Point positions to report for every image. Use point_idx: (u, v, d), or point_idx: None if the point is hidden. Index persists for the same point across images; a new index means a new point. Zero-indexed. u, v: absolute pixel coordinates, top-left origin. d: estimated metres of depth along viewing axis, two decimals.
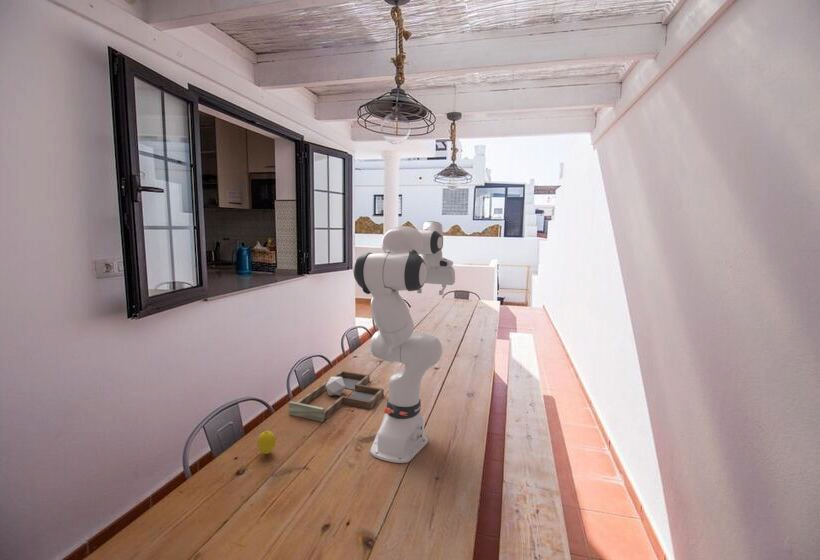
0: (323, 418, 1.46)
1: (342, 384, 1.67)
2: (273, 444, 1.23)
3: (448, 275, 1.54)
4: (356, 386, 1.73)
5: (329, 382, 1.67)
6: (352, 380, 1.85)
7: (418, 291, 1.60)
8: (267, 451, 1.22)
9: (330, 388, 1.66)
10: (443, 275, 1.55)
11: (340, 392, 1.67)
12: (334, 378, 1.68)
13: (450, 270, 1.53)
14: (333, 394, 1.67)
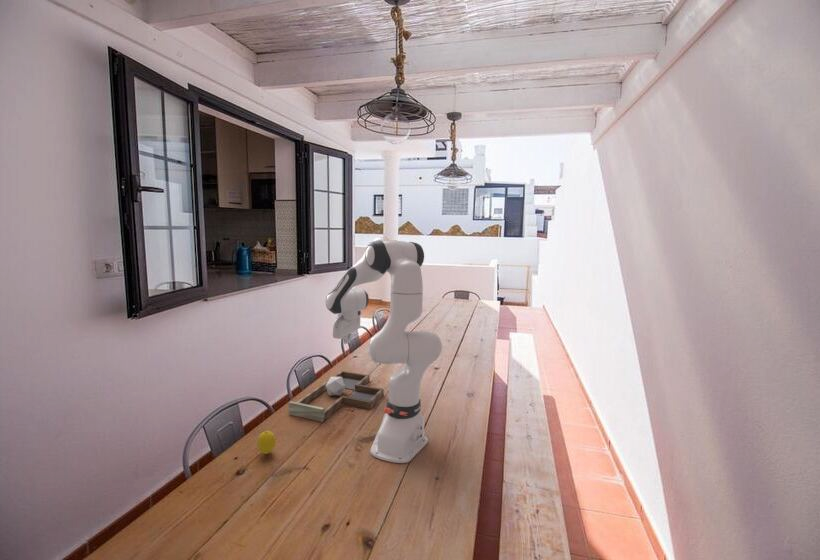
0: (323, 418, 1.46)
1: (342, 384, 1.67)
2: (273, 444, 1.23)
3: (358, 321, 1.82)
4: (356, 386, 1.73)
5: (329, 382, 1.67)
6: (352, 380, 1.85)
7: (347, 342, 1.75)
8: (267, 451, 1.22)
9: (330, 388, 1.66)
10: (355, 323, 1.80)
11: (340, 392, 1.67)
12: (334, 378, 1.68)
13: None
14: (333, 394, 1.67)
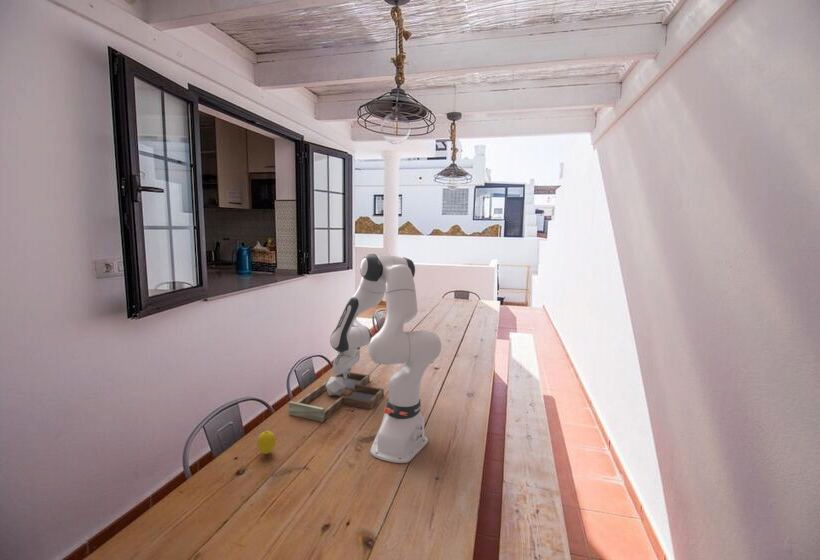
0: (323, 418, 1.46)
1: (342, 384, 1.67)
2: (273, 444, 1.23)
3: (357, 355, 1.84)
4: (356, 386, 1.73)
5: (329, 382, 1.67)
6: (352, 380, 1.85)
7: (347, 376, 1.77)
8: (267, 451, 1.22)
9: (330, 388, 1.66)
10: (355, 356, 1.82)
11: (340, 392, 1.67)
12: (334, 378, 1.68)
13: (359, 350, 1.85)
14: (333, 394, 1.67)
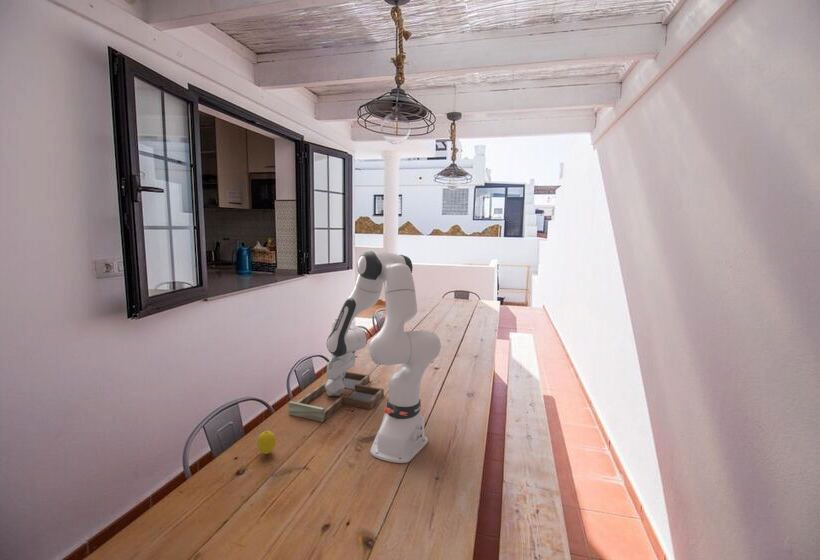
0: (323, 418, 1.46)
1: (341, 384, 1.67)
2: (273, 444, 1.23)
3: (352, 358, 1.79)
4: (356, 386, 1.73)
5: (328, 382, 1.66)
6: (352, 380, 1.85)
7: None
8: (267, 451, 1.22)
9: (329, 389, 1.65)
10: (350, 360, 1.77)
11: (339, 392, 1.67)
12: None
13: (354, 354, 1.79)
14: (332, 394, 1.66)
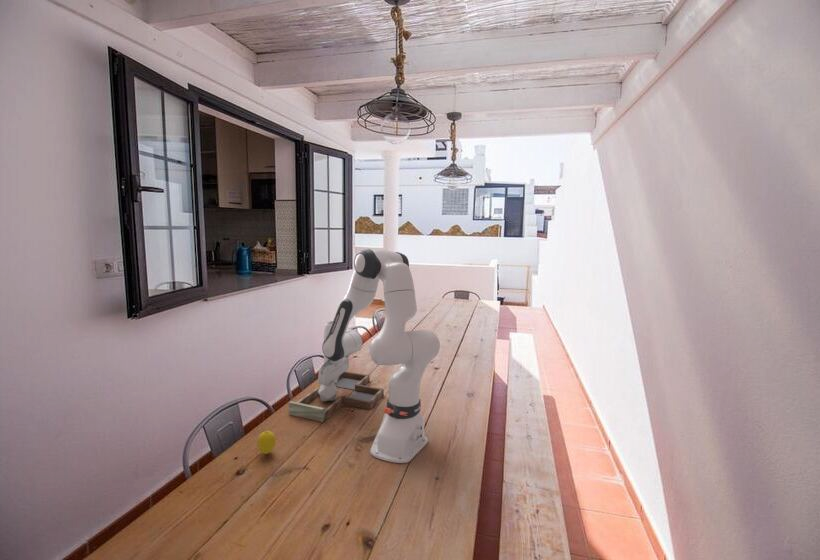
0: (323, 418, 1.46)
1: (336, 389, 1.62)
2: (273, 444, 1.23)
3: (346, 363, 1.73)
4: (356, 386, 1.73)
5: (322, 388, 1.60)
6: (352, 380, 1.85)
7: None
8: (267, 451, 1.22)
9: (324, 395, 1.59)
10: (343, 364, 1.71)
11: (334, 397, 1.62)
12: (327, 384, 1.62)
13: (348, 358, 1.74)
14: (327, 400, 1.61)
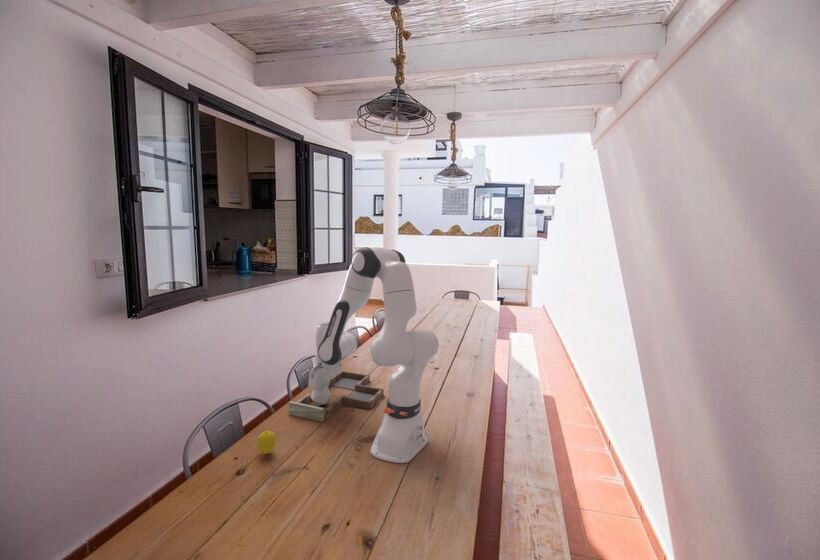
0: (323, 418, 1.46)
1: (329, 392, 1.57)
2: (273, 444, 1.23)
3: (339, 365, 1.67)
4: (356, 386, 1.73)
5: (315, 394, 1.55)
6: (352, 380, 1.85)
7: None
8: (267, 451, 1.22)
9: (319, 400, 1.55)
10: (336, 367, 1.66)
11: (328, 400, 1.58)
12: (319, 389, 1.56)
13: (341, 360, 1.68)
14: (322, 404, 1.57)
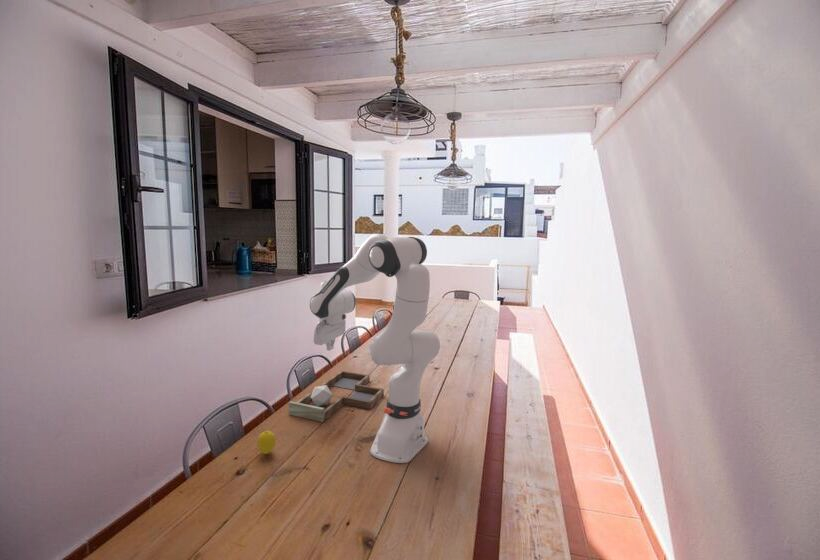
0: (323, 418, 1.46)
1: (330, 392, 1.58)
2: (273, 444, 1.23)
3: (342, 326, 1.68)
4: (356, 386, 1.73)
5: (316, 393, 1.56)
6: (352, 380, 1.85)
7: (330, 348, 1.61)
8: (267, 451, 1.22)
9: (319, 399, 1.55)
10: (340, 327, 1.66)
11: (328, 401, 1.58)
12: (320, 388, 1.58)
13: None
14: (321, 405, 1.57)
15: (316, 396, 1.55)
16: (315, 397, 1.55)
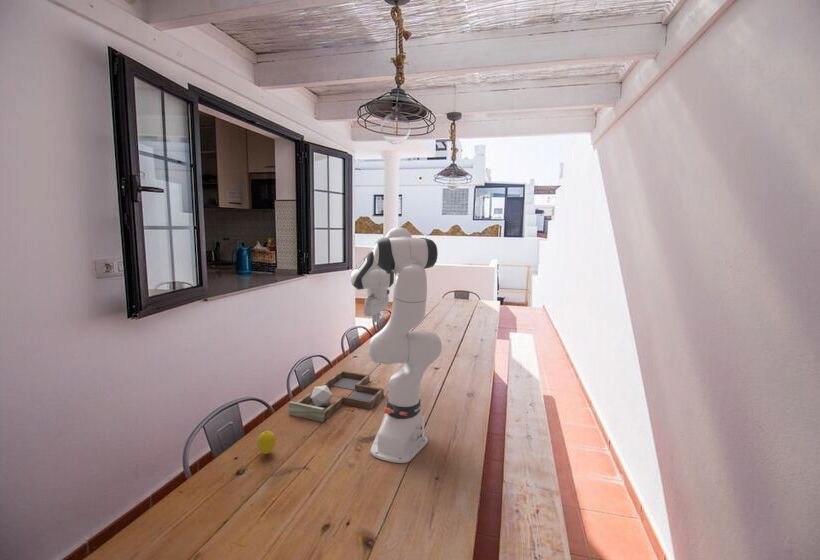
0: (323, 418, 1.46)
1: (330, 392, 1.58)
2: (273, 444, 1.23)
3: (386, 300, 1.82)
4: (356, 386, 1.73)
5: (316, 393, 1.56)
6: (352, 380, 1.85)
7: (377, 320, 1.76)
8: (267, 451, 1.22)
9: (319, 399, 1.55)
10: (384, 302, 1.81)
11: (328, 401, 1.58)
12: (320, 388, 1.58)
13: (388, 296, 1.83)
14: (321, 405, 1.57)
15: (316, 396, 1.55)
16: (315, 397, 1.55)
